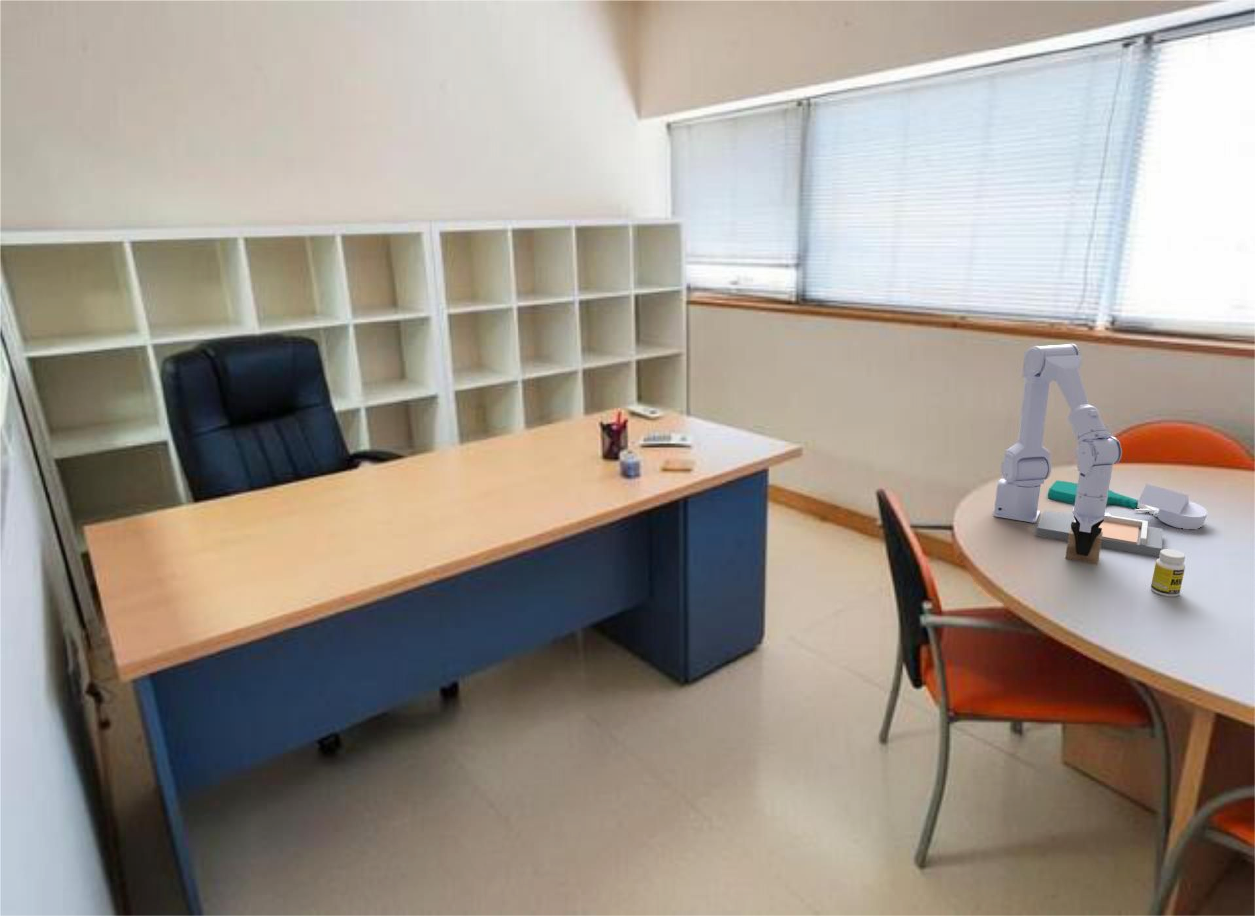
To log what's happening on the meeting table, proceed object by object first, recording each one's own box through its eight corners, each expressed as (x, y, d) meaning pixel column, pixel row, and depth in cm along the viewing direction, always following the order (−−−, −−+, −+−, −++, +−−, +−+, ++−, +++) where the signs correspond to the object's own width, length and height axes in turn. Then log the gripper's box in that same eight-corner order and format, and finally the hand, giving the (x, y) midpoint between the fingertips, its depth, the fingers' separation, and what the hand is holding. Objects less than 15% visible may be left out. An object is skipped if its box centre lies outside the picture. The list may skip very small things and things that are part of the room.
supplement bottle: (1170, 599, 145) (1178, 560, 142) (1145, 589, 149) (1152, 551, 146) (1184, 593, 147) (1192, 554, 144) (1159, 583, 151) (1166, 545, 148)
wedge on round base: (1133, 514, 180) (1198, 533, 172) (1141, 490, 178) (1207, 508, 169) (1144, 501, 186) (1206, 519, 178) (1151, 477, 183) (1215, 494, 175)
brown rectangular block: (1065, 558, 163) (1069, 533, 162) (1067, 551, 166) (1071, 526, 165) (1097, 564, 160) (1101, 538, 158) (1098, 557, 163) (1102, 532, 161)
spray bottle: (1054, 488, 203) (1163, 508, 188) (1044, 500, 195) (1157, 523, 180) (1056, 478, 202) (1165, 497, 187) (1046, 490, 194) (1159, 511, 179)
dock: (1036, 535, 175) (1037, 521, 174) (1043, 517, 184) (1044, 504, 183) (1160, 557, 162) (1163, 542, 161) (1161, 536, 171) (1163, 522, 170)
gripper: (1112, 507, 151) (1102, 567, 155) (1116, 484, 162) (1107, 541, 166) (1072, 501, 155) (1063, 560, 159) (1079, 479, 166) (1070, 535, 170)
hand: (1083, 550), depth 163 cm, fingers closed on brown rectangular block, 4 cm apart
